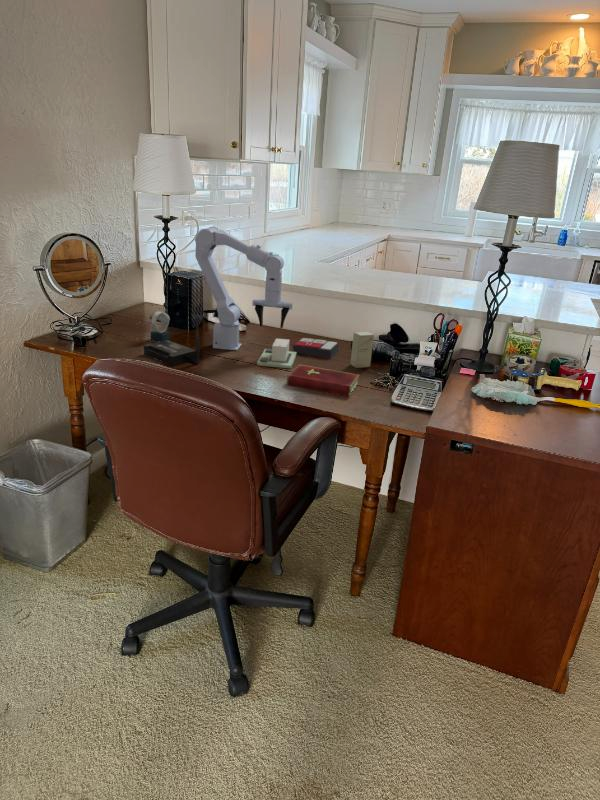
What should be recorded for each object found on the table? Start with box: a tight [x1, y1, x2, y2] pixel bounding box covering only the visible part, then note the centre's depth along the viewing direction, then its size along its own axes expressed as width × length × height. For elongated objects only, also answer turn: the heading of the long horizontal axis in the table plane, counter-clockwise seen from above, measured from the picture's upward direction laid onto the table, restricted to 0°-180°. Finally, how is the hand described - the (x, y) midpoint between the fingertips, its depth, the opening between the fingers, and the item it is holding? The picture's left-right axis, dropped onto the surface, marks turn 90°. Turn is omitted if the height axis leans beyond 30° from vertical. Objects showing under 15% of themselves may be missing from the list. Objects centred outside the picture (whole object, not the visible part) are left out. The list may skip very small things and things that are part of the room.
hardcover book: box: [286, 364, 360, 397], centre depth 181 cm, size 12×21×4 cm, turn 71°
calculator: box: [292, 337, 340, 360], centre depth 214 cm, size 11×4×15 cm
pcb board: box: [256, 347, 298, 370], centre depth 201 cm, size 12×16×4 cm
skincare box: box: [349, 331, 375, 369], centre depth 200 cm, size 6×4×12 cm
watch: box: [150, 310, 171, 342], centre depth 212 cm, size 6×8×11 cm
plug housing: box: [271, 338, 290, 362], centre depth 201 cm, size 5×9×6 cm, turn 174°
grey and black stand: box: [143, 316, 200, 367], centre depth 193 cm, size 20×14×17 cm
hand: (271, 326), depth 206 cm, fingers open, 7 cm apart
